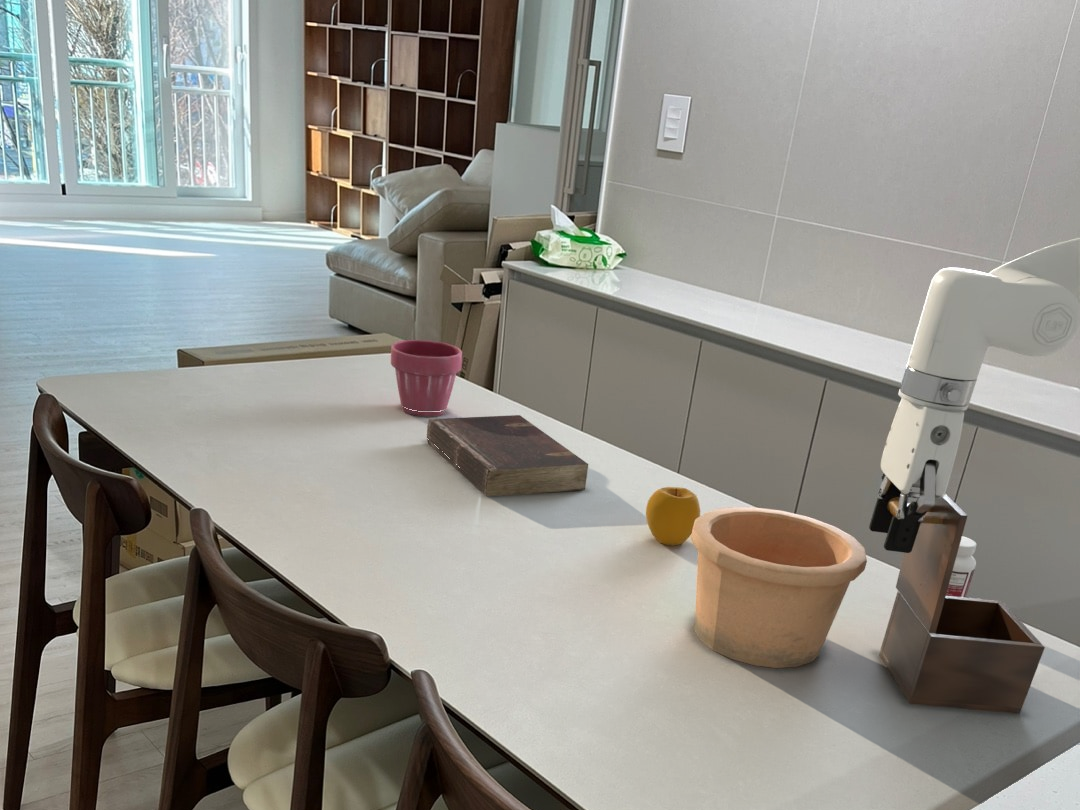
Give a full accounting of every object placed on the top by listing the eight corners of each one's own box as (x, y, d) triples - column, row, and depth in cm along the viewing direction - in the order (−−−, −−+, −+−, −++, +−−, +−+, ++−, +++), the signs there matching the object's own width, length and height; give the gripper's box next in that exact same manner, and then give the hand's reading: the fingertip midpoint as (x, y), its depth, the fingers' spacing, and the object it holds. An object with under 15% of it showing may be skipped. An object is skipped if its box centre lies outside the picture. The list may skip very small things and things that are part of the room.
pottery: (640, 621, 141) (657, 520, 134) (752, 591, 154) (772, 497, 147) (761, 695, 126) (787, 586, 120) (873, 656, 139) (902, 555, 132)
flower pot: (420, 424, 209) (424, 359, 203) (374, 406, 217) (376, 343, 211) (472, 414, 219) (477, 352, 213) (425, 397, 227) (429, 337, 221)
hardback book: (426, 443, 199) (427, 417, 197) (517, 440, 207) (519, 415, 204) (485, 497, 176) (487, 468, 174) (584, 491, 184) (588, 464, 182)
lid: (929, 478, 128) (881, 475, 128) (967, 515, 117) (916, 512, 117) (901, 587, 135) (856, 585, 135) (935, 633, 124) (886, 630, 123)
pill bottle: (933, 598, 159) (954, 529, 154) (968, 615, 155) (991, 545, 149) (907, 605, 155) (928, 535, 150) (942, 622, 151) (965, 551, 146)
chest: (980, 664, 140) (1002, 600, 136) (1019, 715, 129) (1045, 647, 125) (878, 655, 140) (897, 590, 135) (909, 705, 128) (931, 636, 124)
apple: (664, 527, 173) (673, 475, 169) (706, 545, 168) (716, 492, 164) (630, 537, 167) (639, 484, 163) (672, 556, 162) (681, 501, 158)
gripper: (999, 413, 109) (944, 574, 118) (942, 374, 124) (897, 519, 133) (929, 404, 109) (879, 566, 117) (880, 366, 124) (839, 511, 132)
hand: (889, 539), depth 125 cm, fingers open, 5 cm apart
